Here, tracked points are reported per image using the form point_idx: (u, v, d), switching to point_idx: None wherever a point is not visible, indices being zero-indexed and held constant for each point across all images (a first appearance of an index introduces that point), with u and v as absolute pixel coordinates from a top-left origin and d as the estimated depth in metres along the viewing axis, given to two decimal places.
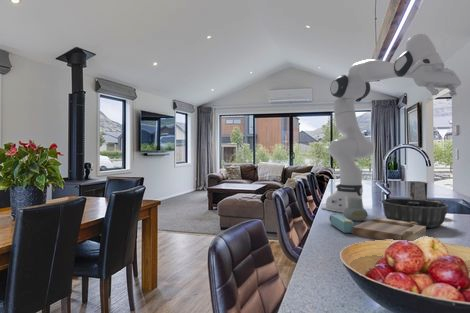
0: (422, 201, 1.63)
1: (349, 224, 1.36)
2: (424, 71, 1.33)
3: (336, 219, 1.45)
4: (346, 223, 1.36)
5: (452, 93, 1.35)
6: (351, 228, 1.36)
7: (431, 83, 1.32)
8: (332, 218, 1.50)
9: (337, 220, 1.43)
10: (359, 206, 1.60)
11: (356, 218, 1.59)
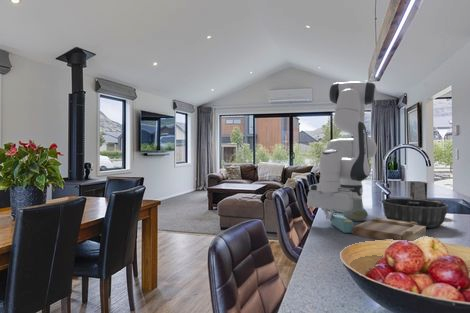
0: (422, 201, 1.63)
1: (349, 224, 1.36)
2: (312, 196, 1.54)
3: (336, 219, 1.45)
4: (346, 223, 1.36)
5: None
6: (351, 228, 1.36)
7: (324, 209, 1.50)
8: None
9: (338, 220, 1.43)
10: (359, 206, 1.60)
11: (356, 218, 1.59)
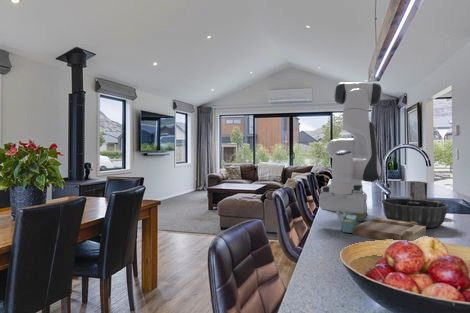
0: (422, 201, 1.63)
1: (348, 224, 1.36)
2: (324, 197, 1.50)
3: (345, 219, 1.45)
4: (345, 223, 1.37)
5: None
6: (350, 228, 1.36)
7: (337, 211, 1.47)
8: None
9: None
10: None
11: None
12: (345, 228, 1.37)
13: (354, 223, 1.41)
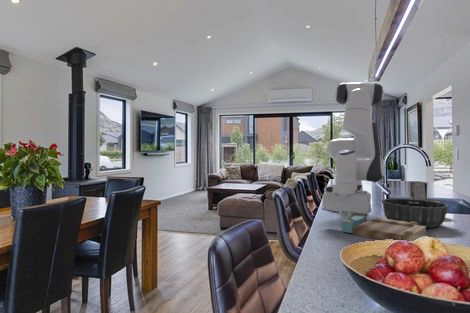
0: (422, 201, 1.63)
1: (347, 224, 1.36)
2: (327, 198, 1.49)
3: None
4: (344, 223, 1.37)
5: None
6: (349, 228, 1.36)
7: (340, 211, 1.46)
8: None
9: None
10: None
11: None
12: (345, 228, 1.37)
13: (357, 224, 1.40)
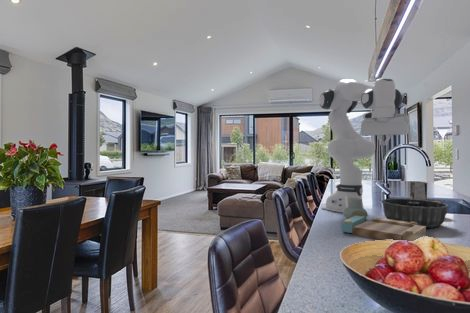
0: (422, 201, 1.63)
1: (347, 224, 1.36)
2: (365, 124, 1.59)
3: None
4: (344, 223, 1.37)
5: None
6: (349, 228, 1.36)
7: (378, 135, 1.56)
8: None
9: None
10: (359, 206, 1.60)
11: None
12: (345, 228, 1.37)
13: (357, 224, 1.40)
